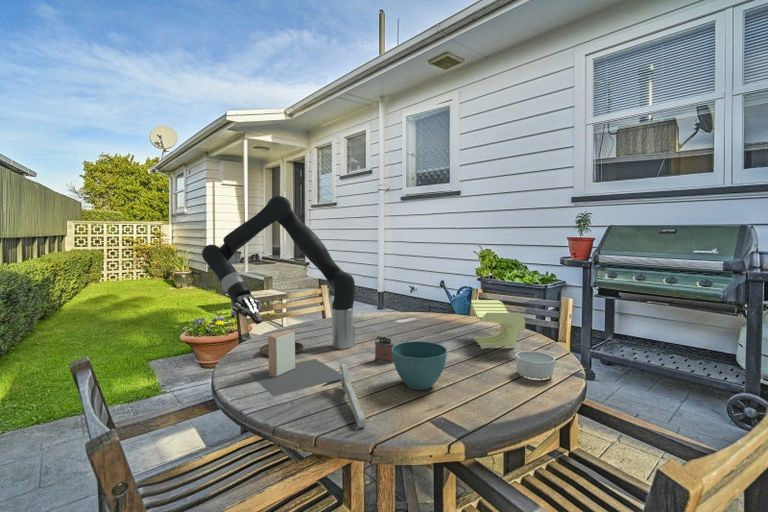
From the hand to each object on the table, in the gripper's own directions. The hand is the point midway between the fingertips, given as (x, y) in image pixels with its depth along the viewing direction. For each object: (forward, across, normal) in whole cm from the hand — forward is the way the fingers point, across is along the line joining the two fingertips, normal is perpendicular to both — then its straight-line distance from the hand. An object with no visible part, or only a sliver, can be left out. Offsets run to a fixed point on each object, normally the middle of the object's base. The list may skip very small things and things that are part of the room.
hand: (259, 322), depth 141 cm
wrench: (+45, -8, -19) cm, 50 cm away
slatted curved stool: (+62, +74, -37) cm, 103 cm away
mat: (+25, 0, 0) cm, 25 cm away
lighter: (+38, +30, -13) cm, 50 cm away
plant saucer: (+8, +18, +17) cm, 26 cm away
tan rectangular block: (+19, 0, +4) cm, 20 cm away
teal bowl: (+53, +15, -28) cm, 62 cm away
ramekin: (+76, +43, -51) cm, 101 cm away
